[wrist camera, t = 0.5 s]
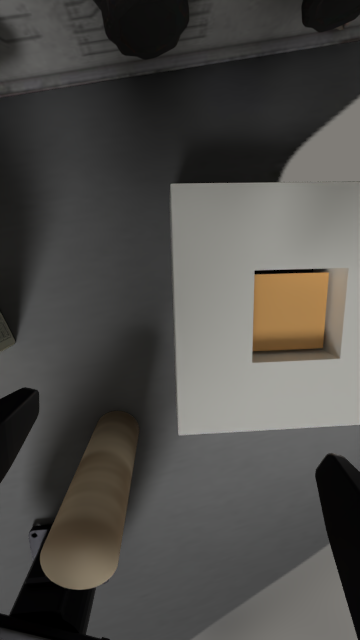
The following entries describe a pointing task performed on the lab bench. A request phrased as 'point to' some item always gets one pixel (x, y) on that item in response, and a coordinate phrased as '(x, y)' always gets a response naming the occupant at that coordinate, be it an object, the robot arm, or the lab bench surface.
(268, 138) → the lab bench surface
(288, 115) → the lab bench surface
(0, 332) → the skincare box
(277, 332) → the plunger plate
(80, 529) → the wooden peg
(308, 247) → the socket block
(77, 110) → the lab bench surface
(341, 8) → the vintage electronic device
